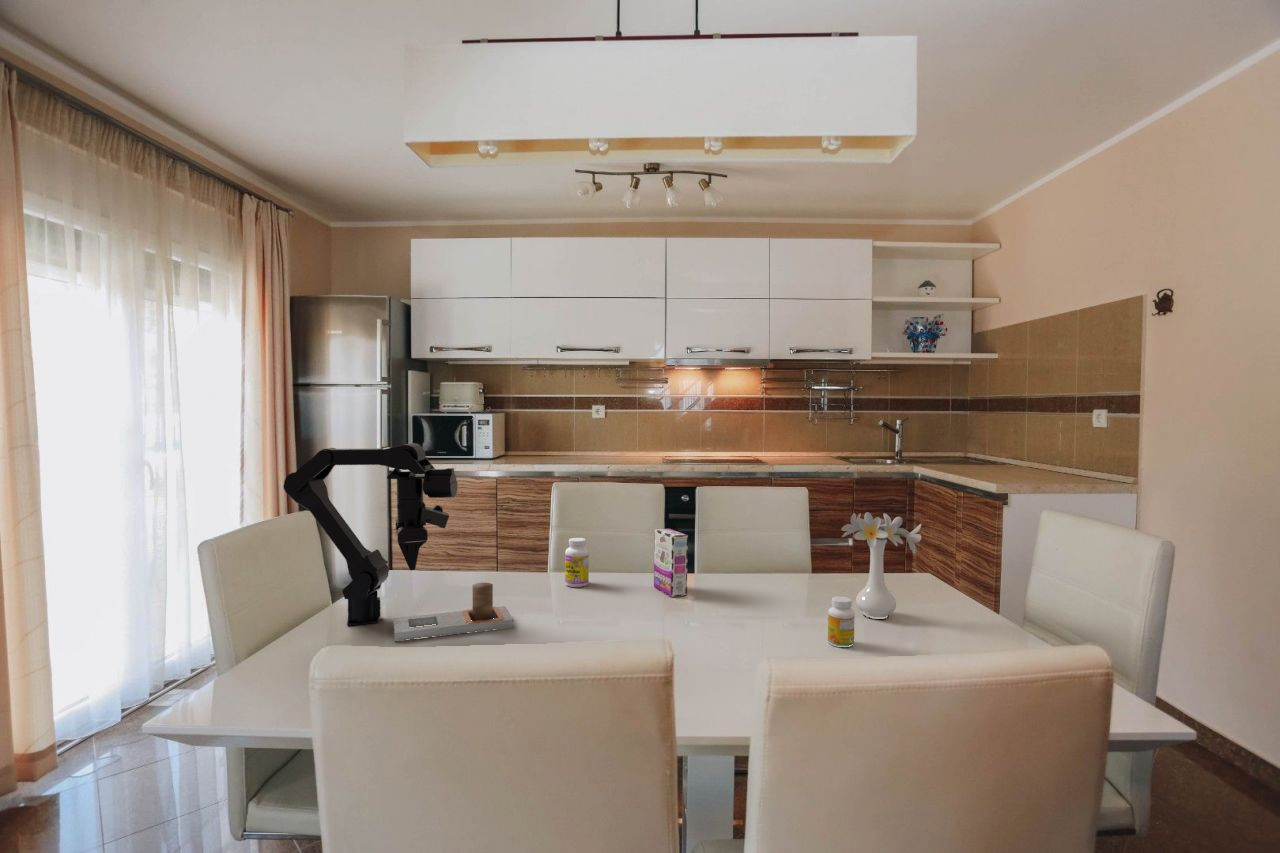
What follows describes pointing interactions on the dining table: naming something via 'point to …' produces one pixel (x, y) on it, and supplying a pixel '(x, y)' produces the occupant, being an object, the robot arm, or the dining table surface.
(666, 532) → the candy bar box
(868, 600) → the flower vase
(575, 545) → the supplement bottle
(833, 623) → the supplement bottle
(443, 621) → the gray peg socket board
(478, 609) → the walnut peg
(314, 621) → the dining table surface
